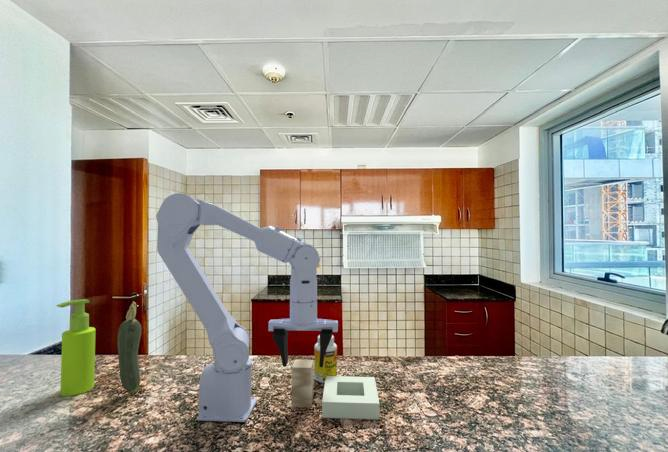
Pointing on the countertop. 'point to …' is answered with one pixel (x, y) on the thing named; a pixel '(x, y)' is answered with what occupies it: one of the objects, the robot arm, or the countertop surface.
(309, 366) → the peg
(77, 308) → the soap dispenser
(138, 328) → the vegetable
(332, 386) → the socket block
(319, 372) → the supplement bottle
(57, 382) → the countertop surface
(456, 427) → the countertop surface
